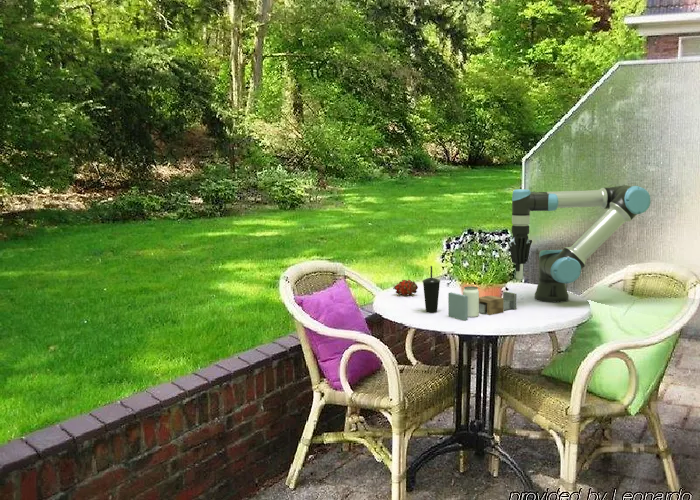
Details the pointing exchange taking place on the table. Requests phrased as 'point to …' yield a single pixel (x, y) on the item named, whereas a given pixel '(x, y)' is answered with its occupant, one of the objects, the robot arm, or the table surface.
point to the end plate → (458, 306)
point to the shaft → (508, 302)
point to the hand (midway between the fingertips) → (519, 278)
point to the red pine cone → (406, 287)
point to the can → (472, 300)
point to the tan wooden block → (492, 304)
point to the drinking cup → (431, 293)
